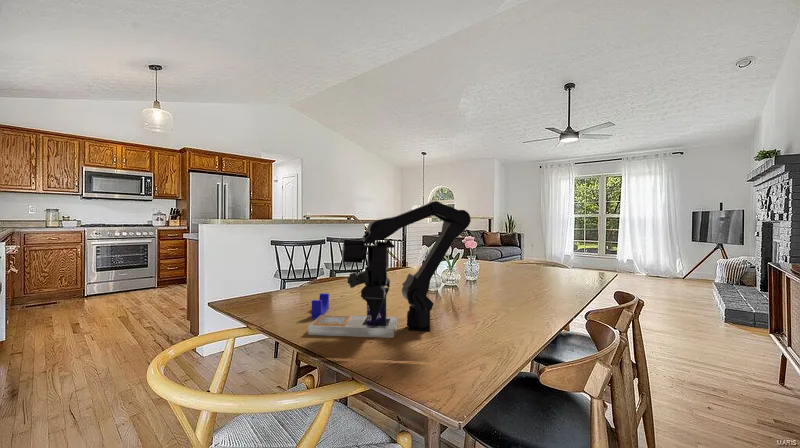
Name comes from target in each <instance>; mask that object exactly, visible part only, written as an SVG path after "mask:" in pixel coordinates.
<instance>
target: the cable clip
mask: <svg viewBox="0 0 800 448" xmlns="http://www.w3.org/2000/svg"><path fill="white" fill-rule="evenodd" d="M329 309H330V293H327V292H326V293H320V294H319V299H313V300H311V319H314V320H315V319H317V318H318V317H319V316H320V315H326V313H327V312H328V310H329Z"/></svg>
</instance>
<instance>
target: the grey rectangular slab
mask: <svg viewBox="0 0 800 448" xmlns="http://www.w3.org/2000/svg"><path fill="white" fill-rule="evenodd" d="M397 326H398V316H386V326H369V325H367V315H350V314H349V315H347V314H344V315H343V314H324V315H320V316H319V317H318V318H317V319H314V320H313V321H312V322H311V323H310V324H309V325H308V326H307V335H308V336H327V337H330V336H331V337H355V338H357V337H358V338H359V337H361V338H385V339H386V338H388V339H392V338H393V339H394V337H395V334H396V330H397Z"/></svg>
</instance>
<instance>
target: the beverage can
mask: <svg viewBox="0 0 800 448" xmlns="http://www.w3.org/2000/svg"><path fill="white" fill-rule="evenodd" d="M366 316H367V325H369V326H386V317H387V296H386V292H385V298H384V301H383V303H382V306H381V308H380V311H379V314H378V316H377V319H376V321H372V318H371V314H370V309H369V305H368V303H367V302H366Z"/></svg>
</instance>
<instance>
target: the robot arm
mask: <svg viewBox="0 0 800 448" xmlns="http://www.w3.org/2000/svg"><path fill="white" fill-rule="evenodd" d="M432 216H435V218H438V219H439V220H440V221H442V222H443V223H442V227H441V232H440V234H439V236H438V237H437V239H436V240H435V242H434V244H433V246H432V248H431V249H430V251H429V252H428V254H427V255H426V257H425V259H424V260H423V262H422V264H421V266H420V267H419V269H418V270H417V271H416V273H414V274H411V273H408V275H407V276H406V279H405V281H404V282H402V283H401V285H402V288H401V294H402V297H403V298H404V299H405V300H406V301H407V304H408V305H409V306H408V308H409V309H408V310H407V313H406V315H407V316H406V326H407V327H408V328H407V329H408V331H431V310H433V306H434V302H433V301H432V300H431V299H430V298H429V297H428V292H429V289H430V284H431V280H432V278H433V276H434V274H435V272H436V271H437V269H438V268H439V266H440V264H441V262H442V261H443V259H444V257H445V256H446V254H447V253H448V251H449V249H450V247H451V245H452V244H453V243H454V240H455V239H457V238H458V237H459V236H460V235H462V234H463V233H464V232H465V230H466V229H468V227H469V226H470V224H471V221H472V218H471V216H470V214H469V212H468V211H467V210H465V209H456V208H455V207H452V206H450V205H446V204H444V203H442V202H440V201H437V200H435V201H433V200H432V201H429V202H428V203H427V204H424V205H421V206H418V207H416V208H413V209H411V210H408V211H406V212H404V213H400V214H398V215H395V216H392V217H386V218H379V219H375V220H372V221H371V222H369V224H368V225H367V231H366V232H365V234H364V235H363V236H362V238H361V239H349V238H346V239H345V238H343V243H342V250H341V262H342V264H345V263H346V264H362V263H363V261H365V260H367V266H366V267H365V268H364V269H365V270H364V271H360V272H356V271H355V272H352V273H351V272H350V273H349V276H348V277H347V278H346V279H347V281H346V282H347V284H348V285H349V287H350V289H353V288H355V287H357V286H359V285H362V284H364V287H362V288H361V290H360V297H361V298H362V300H364V301H365V302H366V304H367V303H368V305H369V309H370V314H371V318H372V321H376V319H377V316H378V314H379V311H380V308H381V306H382V303H383V301H384V298H385V292H386V297H387V296H388V292H389V291H390V287H391V279H390V278H389V277H388V269H389V266H388V249H390V248H391V249H393V248H395V245H394V244H393V243H392V242H391V240H390V239H389V237H390V236H391V235H394V233H396V232H397V231H399V230H400V229H402V228H404V227H407V226H409V225H412V224H414V223H417V222H420V221H423V220H425V219H427V218H430V217H432ZM387 238H388V239H387ZM383 240H385V241H383ZM373 243H374V244H373Z"/></svg>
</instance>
